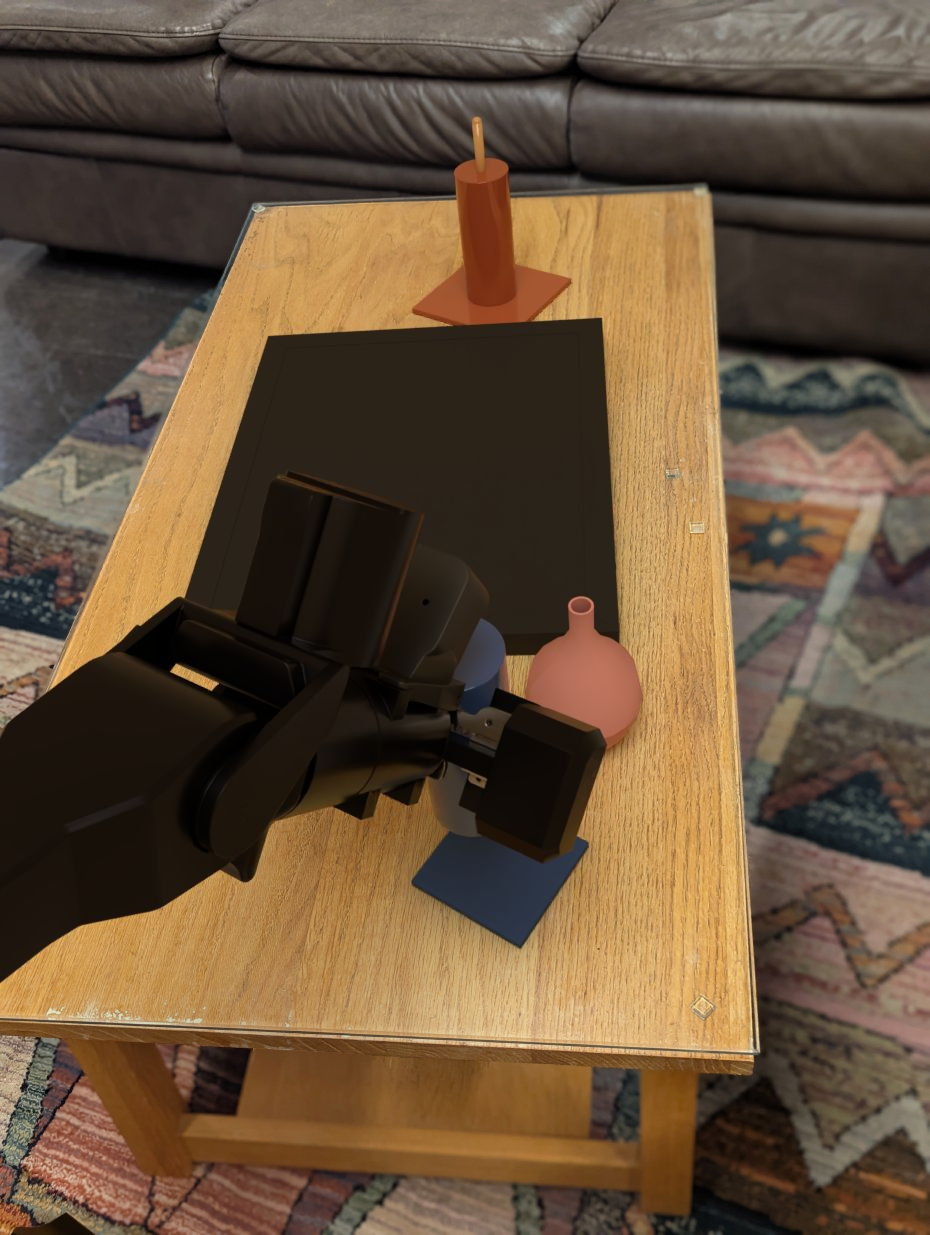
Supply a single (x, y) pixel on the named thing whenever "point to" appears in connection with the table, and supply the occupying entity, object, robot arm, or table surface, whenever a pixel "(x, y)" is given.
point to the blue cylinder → (482, 675)
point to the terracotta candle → (486, 226)
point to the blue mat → (495, 883)
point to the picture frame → (442, 458)
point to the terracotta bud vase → (587, 676)
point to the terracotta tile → (524, 307)
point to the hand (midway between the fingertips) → (478, 712)
